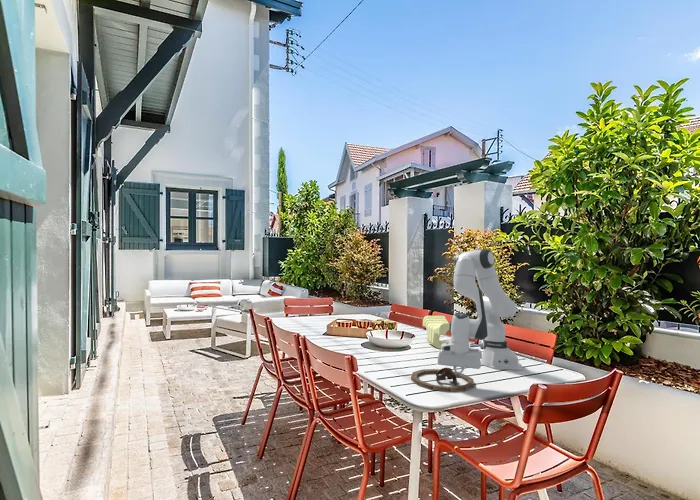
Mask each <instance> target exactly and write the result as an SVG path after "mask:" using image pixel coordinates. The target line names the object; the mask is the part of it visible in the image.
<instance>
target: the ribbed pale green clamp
mask: <svg viewBox="0 0 700 500" xmlns="http://www.w3.org/2000/svg"><path fill="white" fill-rule="evenodd" d="M449 326H450V322H449V321H448V320H447V318H446V316H445V315H425V316H424V317H423V319H422V327H425V329H426V336H427V337H426V341H427V342H428V343H429V344H430V345H431V346H432V347H434V348H436V349H441V345H442V344H443V343H448V342H450V340H440V337H441V336H446V335H447V333H448V332H449Z"/></svg>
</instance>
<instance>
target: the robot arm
mask: <svg viewBox="0 0 700 500" xmlns="http://www.w3.org/2000/svg"><path fill="white" fill-rule="evenodd" d="M494 264H495V255H494V253H493V252H492V251H491V250H490V249H488V248H482V249H473V250H469V251H464V252H459V253H457V254H456V255H455V256H454V258H453V265H454V271H453V272H454V273H453V288H454V289H455V291H456V292H457V293H458V294H460V295H461V296H463V297H465V298H467V299H470V300H471V301H473V302H474V303H475V308H476V316H477V318H476V319H475V318H474V319H473V318H470V316H469V315H468V314H467V313H463V312H455V313H454V314H453V315H452V319H451V320H450V321H449V324H450V326H449V330H448V332H449V334H450V335H451V336H450V340H449V342H448V343H443V344H442V345H441V348H440V350H439V351H438V356H437V364H438V365H439V366H445V367H448V366H449V367H453V369H452V370H453V371H454V372H456V373H455V376H461V373H462V374H463V372H464V370H465V368H466V369H476V370H480V369H481V367H482V366H481V365H483V366H486V367H489V368H491V369H494V370H511V371H521V370H523V365H522V364H521V363H520V362H519V357H518V355H517V354H516V353H514V352H513V350H511V349H510V348H509V347H511V344H510V343H509V342H508V341H506V326H505V325H504V324H503V322H502V320H501V318H506V319H507V318H512V317H513V316H515V314H516V312H517V304H516V302H515V301H513V300H512V299H511V297H509V296H508V295H507V293H506V292H505V291H504V289H503V287H502V286H501V283H500V281H499V280H500V279H499V277H498V273H497V271H496V268H495V266H494ZM476 281H477V283H478V286H477V283H476ZM483 294H484V295H483ZM470 339H471V340H472V339H474V340H478V341H482V348H483V352H482V351H481V350H480V349H479V348H471V347H470ZM457 368H460V371H457Z"/></svg>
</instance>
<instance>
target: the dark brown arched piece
mask: <svg viewBox="0 0 700 500" xmlns="http://www.w3.org/2000/svg"><path fill="white" fill-rule="evenodd" d="M444 371H445V373H444V374H440V373H442V372H444ZM453 371H454V370H453V369H452V368H451V367H442V368H440V370H439V371H438V372H437V373H435V381H436V382H440V381H447V380H452V382H453V383H455V385H454V386H458V379H457V377H456V376H455V374H454V372H455V371H454V372H453ZM446 378H447V379H446Z"/></svg>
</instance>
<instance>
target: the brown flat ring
mask: <svg viewBox="0 0 700 500" xmlns="http://www.w3.org/2000/svg"><path fill="white" fill-rule="evenodd" d="M440 369H441V368H440ZM440 369H439V368H429V369H419V370H416V371H412V374H411V376H410V380H411V382H413V383H414V384H415V385H417V386H420V387H422V388H426V389H429V390H433V391H441V392H446V393H447V392H448V393H449V392H451V393H455V392H467V391H469V390H471V389H474V387H475V385H474V384H475V383H474V381H475V380H474V379H473V378H472V377H470V376H469V375H466V374H465V373H463V372H462V373H461V376H456V378H459V379H460V378H461V379H462V380H463V381H465V382H467V383H466V384H463V385H454V386H447V385H440V384H439V385H437V384H432V383H428V382H426V381H423V380H421V379H420V378H418V377H419V376H422V375H426V374H427V375H428V374H432V375H433V374H436V373H437V372H438V371H439V370H440ZM452 371H453V372H454V374H455V373H456V372H455V371H454V370H452ZM444 373H445V371H444V372H442V373H440V374H439V375H442V374H444Z"/></svg>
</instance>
